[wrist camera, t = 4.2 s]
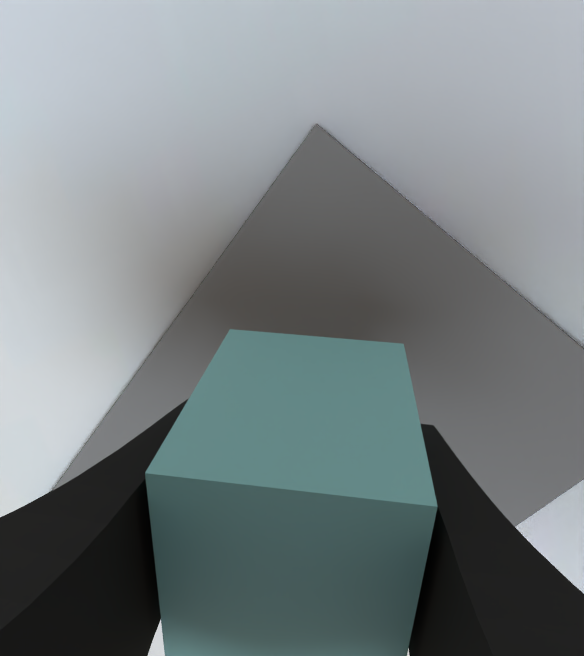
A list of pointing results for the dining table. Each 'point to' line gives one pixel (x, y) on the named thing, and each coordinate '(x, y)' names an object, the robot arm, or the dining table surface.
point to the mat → (381, 326)
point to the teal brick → (293, 502)
